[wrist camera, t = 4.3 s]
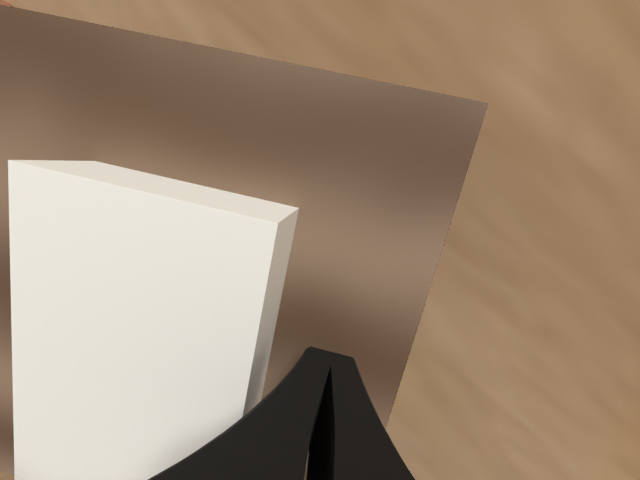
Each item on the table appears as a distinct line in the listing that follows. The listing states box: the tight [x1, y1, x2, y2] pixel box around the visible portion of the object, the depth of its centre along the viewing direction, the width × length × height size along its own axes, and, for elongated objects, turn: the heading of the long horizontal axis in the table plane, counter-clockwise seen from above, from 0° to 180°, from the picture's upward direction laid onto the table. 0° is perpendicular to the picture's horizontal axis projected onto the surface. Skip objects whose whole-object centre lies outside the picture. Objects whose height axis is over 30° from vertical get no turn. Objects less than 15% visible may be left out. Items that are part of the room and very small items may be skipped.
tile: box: [8, 160, 299, 480], centre depth 9 cm, size 9×6×2 cm, turn 168°
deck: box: [0, 5, 488, 480], centre depth 12 cm, size 16×16×4 cm
